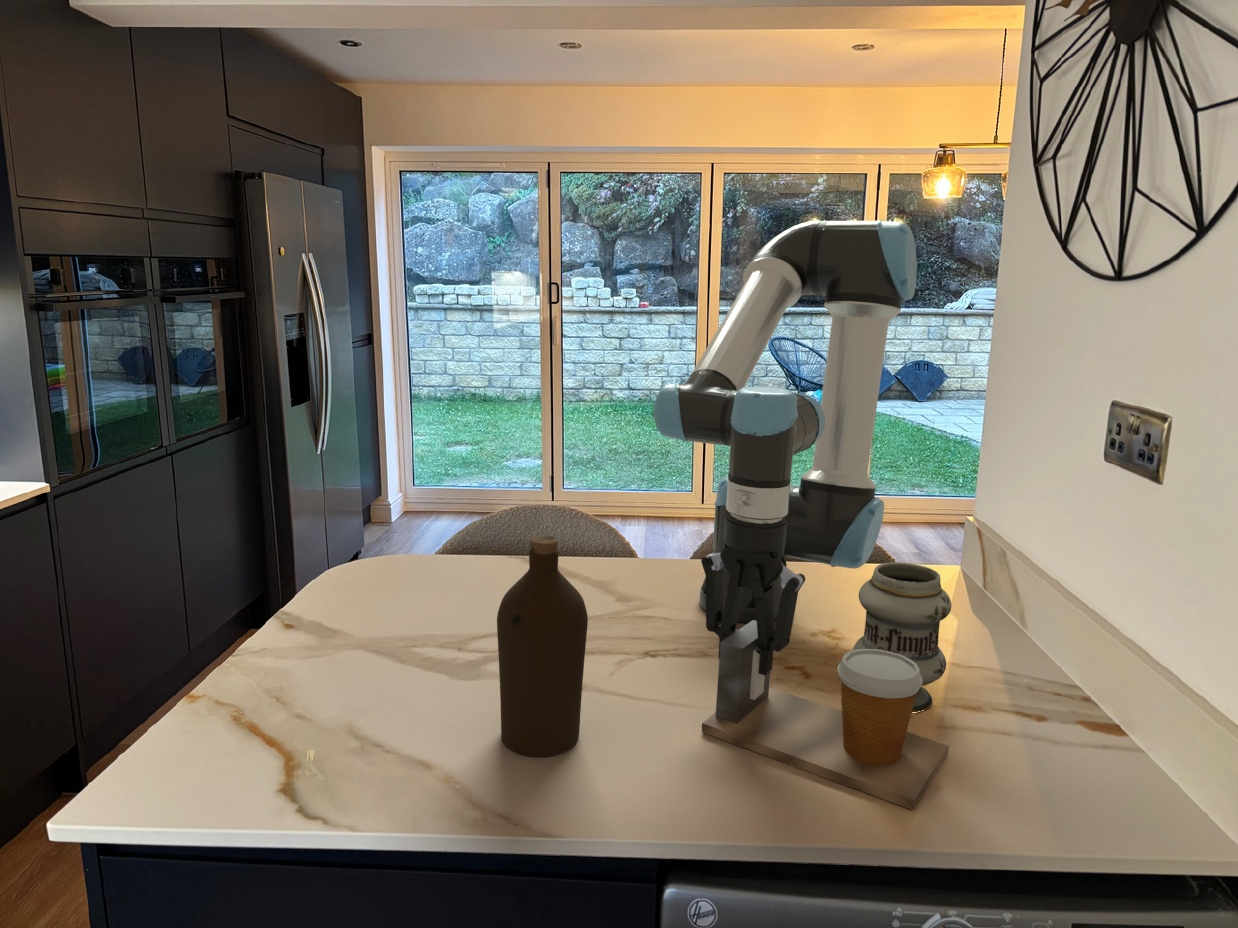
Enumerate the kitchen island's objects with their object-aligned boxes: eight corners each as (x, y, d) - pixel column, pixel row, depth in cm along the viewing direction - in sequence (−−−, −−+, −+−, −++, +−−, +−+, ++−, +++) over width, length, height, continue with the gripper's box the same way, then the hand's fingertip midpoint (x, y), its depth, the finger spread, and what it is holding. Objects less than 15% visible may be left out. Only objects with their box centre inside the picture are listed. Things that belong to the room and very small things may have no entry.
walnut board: (701, 731, 108) (706, 647, 106) (752, 689, 119) (758, 613, 117) (912, 809, 94) (924, 714, 91) (947, 754, 105) (959, 668, 103)
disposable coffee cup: (917, 786, 98) (928, 686, 95) (830, 773, 100) (839, 675, 97) (908, 744, 107) (918, 652, 105) (829, 733, 109) (837, 643, 107)
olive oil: (581, 762, 101) (588, 555, 95) (489, 758, 101) (490, 552, 95) (586, 716, 111) (592, 527, 105) (502, 712, 111) (504, 524, 105)
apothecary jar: (840, 673, 125) (852, 554, 122) (924, 677, 125) (939, 558, 121) (860, 715, 114) (874, 585, 110) (953, 720, 113) (971, 589, 109)
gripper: (683, 508, 108) (673, 682, 113) (806, 535, 99) (788, 722, 105) (713, 496, 114) (702, 662, 120) (830, 521, 105) (813, 698, 111)
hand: (742, 690), depth 112 cm, fingers open, 3 cm apart
